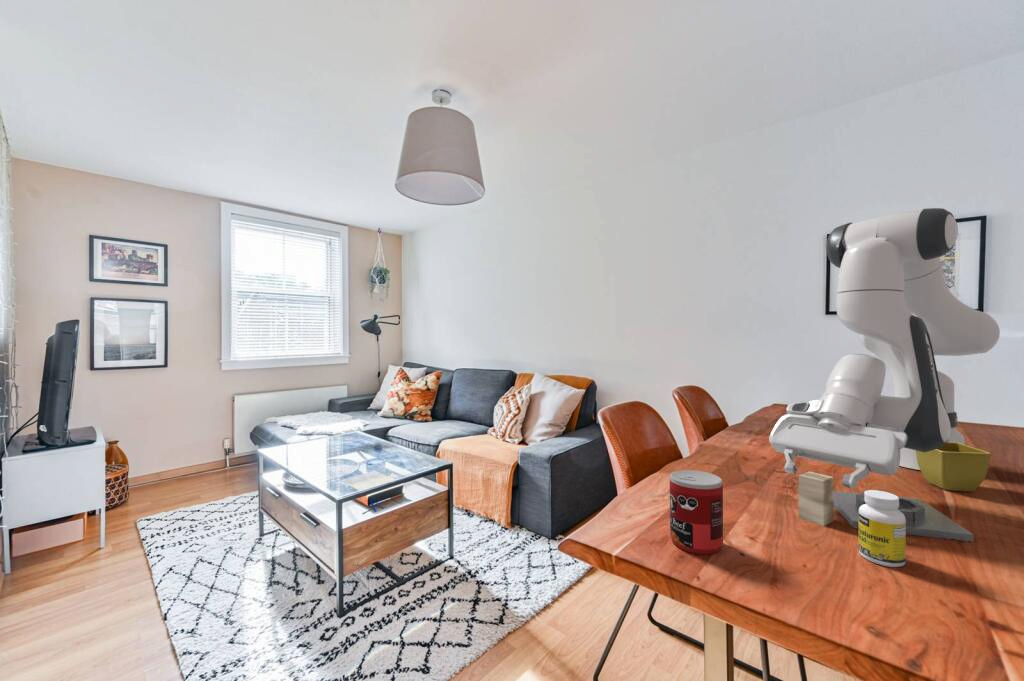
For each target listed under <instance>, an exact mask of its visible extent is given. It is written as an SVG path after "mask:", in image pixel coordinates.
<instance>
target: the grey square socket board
mask: <svg viewBox="0 0 1024 681" xmlns="http://www.w3.org/2000/svg"><path fill="white" fill-rule="evenodd" d="M833 491H834V508H835V510H837V511H838V513H839V514H840V515H841V516H842V517H843V518H844V519H845V520H846V521H847V523H849V525H850V526H851V527H852V528H853V529H859V508H860V506H861V505H863V504H866V502H865V499H864V492H862V493H860V492H850V491H839V490H833ZM897 496H898V495H897ZM898 497H899V508H897V510H899V511H901V512H902V513H903V514H904V516H905V520H906V535H911V536H919V537H927V538H928V537H929V538H936V539H943V540H944V538H945V539H946V540H951V539H955V540H954V541H959V540H961V541H960V542H968V541H971V542H970V543H974V541H975V538H974V534H973V533H972V532H970V531H969V530H967V529H966V528H964V527H963V526H961V525H960V524H958V523H957V522H955V521H954V520H953V519H951V518H950V517H948V516H947V515H945V514H943V513H942V512H941V511H939V510H937V509H936V508H935V507H933V506H932V505H930V504H928V502H926V501H925V500H923V499H921V498H913V497H902V496H898Z"/></svg>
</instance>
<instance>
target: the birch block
mask: <svg viewBox="0 0 1024 681" xmlns="http://www.w3.org/2000/svg"><path fill="white" fill-rule="evenodd" d="M834 491H835V490H834V476H831V475H825V474H821V473H816V472H814V471H809V470H808V471H807V472H804V473H801V474H799V475H798V519H800V520H802V521H805V522H809V523H812V524H816V525H819V526H822V527H825V526H827V525H828V524H830V523H832V522H834V520H835V518H834V517H835V514H834V512H835V511H834V510H835V509H834V508H835V507H834Z"/></svg>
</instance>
